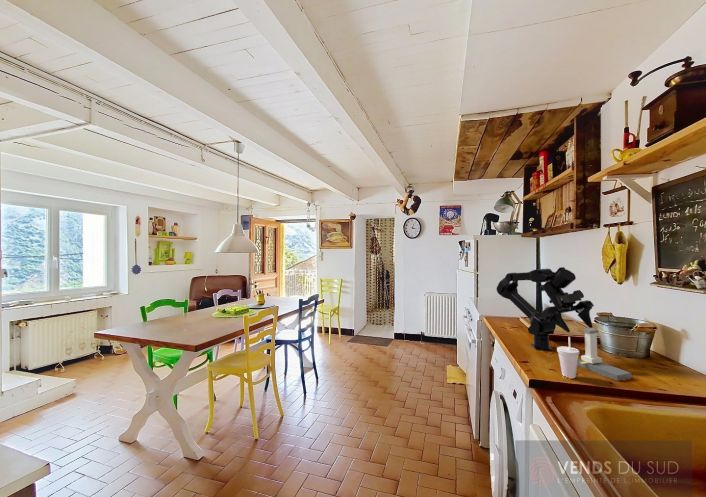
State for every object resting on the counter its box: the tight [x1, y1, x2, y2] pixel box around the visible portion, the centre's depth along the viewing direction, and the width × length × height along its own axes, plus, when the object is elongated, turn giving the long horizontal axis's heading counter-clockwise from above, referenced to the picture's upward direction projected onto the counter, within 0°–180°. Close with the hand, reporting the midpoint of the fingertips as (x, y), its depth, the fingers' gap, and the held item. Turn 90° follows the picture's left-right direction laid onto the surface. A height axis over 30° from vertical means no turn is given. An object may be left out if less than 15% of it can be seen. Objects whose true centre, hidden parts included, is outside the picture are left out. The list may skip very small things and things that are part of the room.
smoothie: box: [556, 336, 580, 378], centre depth 104 cm, size 6×6×14 cm
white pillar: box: [580, 327, 603, 364], centre depth 111 cm, size 4×4×12 cm
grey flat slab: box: [577, 358, 632, 381], centre depth 107 cm, size 14×9×2 cm, turn 12°
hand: (580, 329), depth 115 cm, fingers open, 9 cm apart
